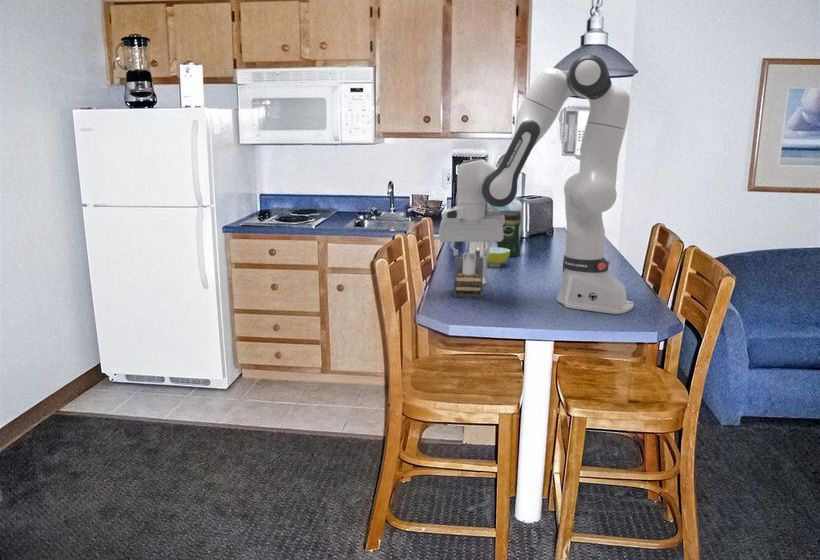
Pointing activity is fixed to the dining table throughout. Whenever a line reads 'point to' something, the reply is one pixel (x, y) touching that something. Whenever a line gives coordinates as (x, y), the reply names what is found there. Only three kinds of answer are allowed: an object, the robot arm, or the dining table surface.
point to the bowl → (498, 256)
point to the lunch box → (513, 206)
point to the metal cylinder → (468, 269)
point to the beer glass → (479, 251)
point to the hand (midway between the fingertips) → (470, 255)
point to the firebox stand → (468, 279)
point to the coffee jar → (511, 232)
